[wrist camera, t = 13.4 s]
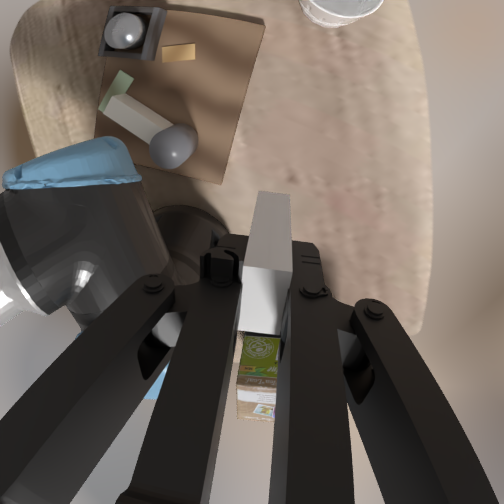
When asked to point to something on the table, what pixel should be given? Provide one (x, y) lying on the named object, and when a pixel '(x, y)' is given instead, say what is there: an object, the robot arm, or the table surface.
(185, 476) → the robot arm
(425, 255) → the table surface
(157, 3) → the table surface
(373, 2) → the white cup
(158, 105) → the board
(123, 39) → the button
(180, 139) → the peg lever
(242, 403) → the tea box
